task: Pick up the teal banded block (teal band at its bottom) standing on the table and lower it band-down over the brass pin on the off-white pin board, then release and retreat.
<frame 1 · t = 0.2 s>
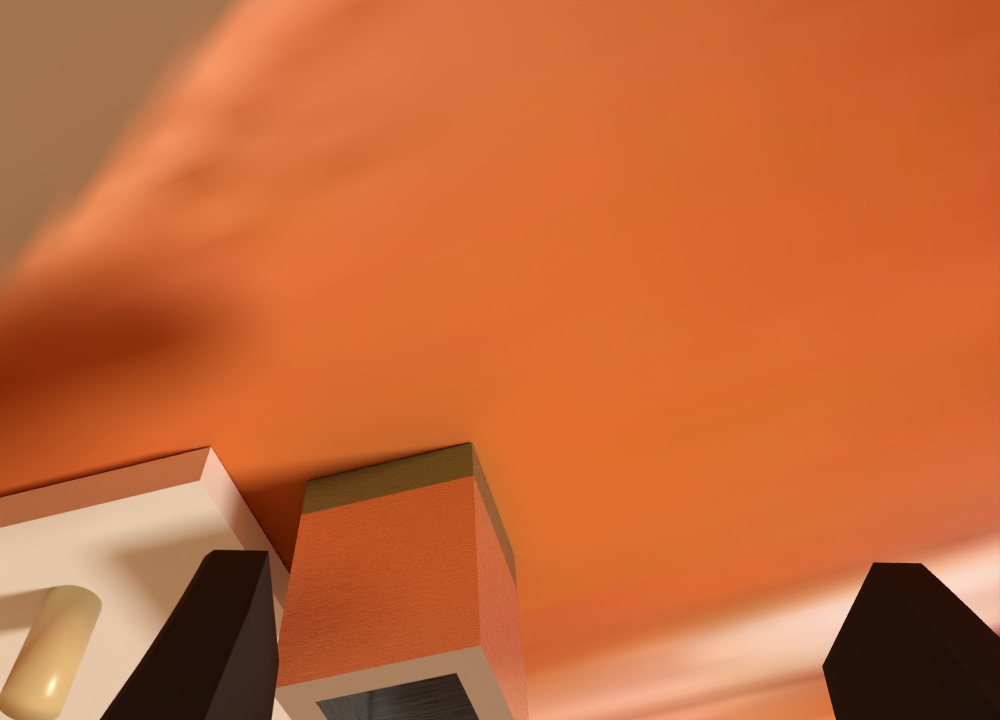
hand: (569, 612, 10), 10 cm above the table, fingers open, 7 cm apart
teal banded block: (415, 520, 23), on the table
pin board: (159, 652, 26), on the table
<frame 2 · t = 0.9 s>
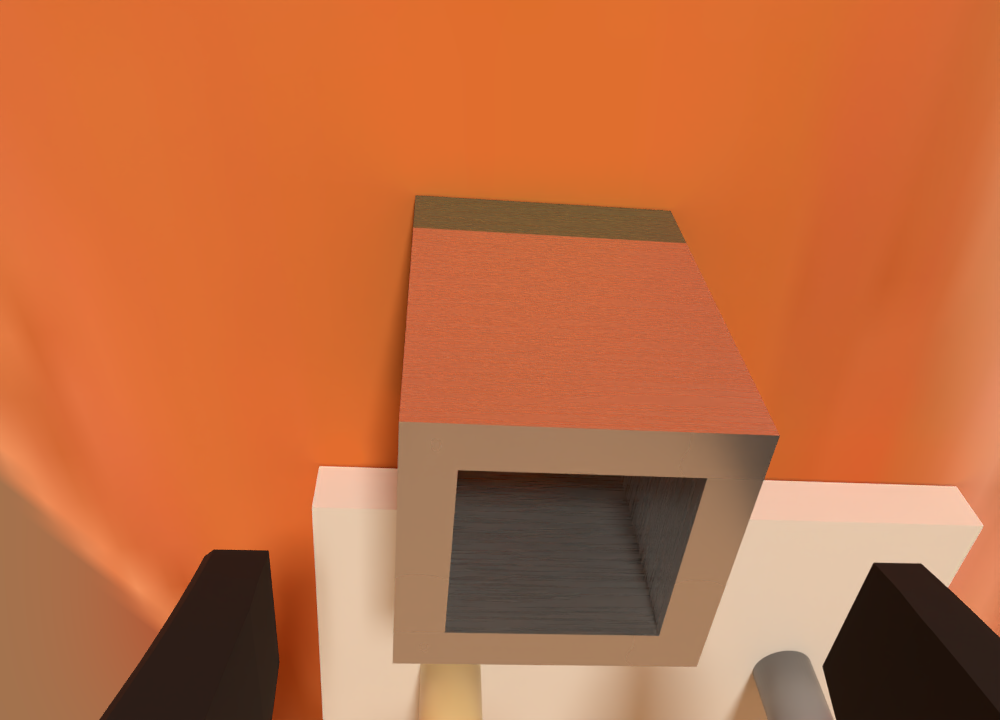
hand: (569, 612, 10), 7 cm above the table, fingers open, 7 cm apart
teal banded block: (530, 312, 16), on the table
pin board: (611, 624, 21), on the table
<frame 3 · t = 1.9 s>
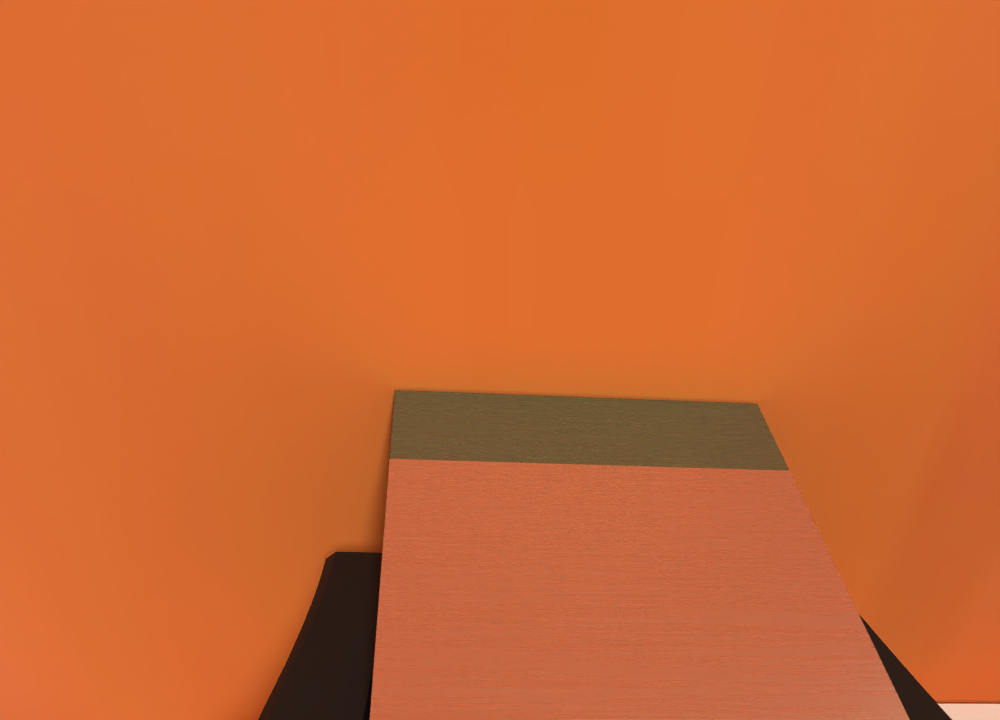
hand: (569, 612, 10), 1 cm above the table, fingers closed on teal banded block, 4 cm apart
teal banded block: (556, 526, 12), on the table, touching gripper
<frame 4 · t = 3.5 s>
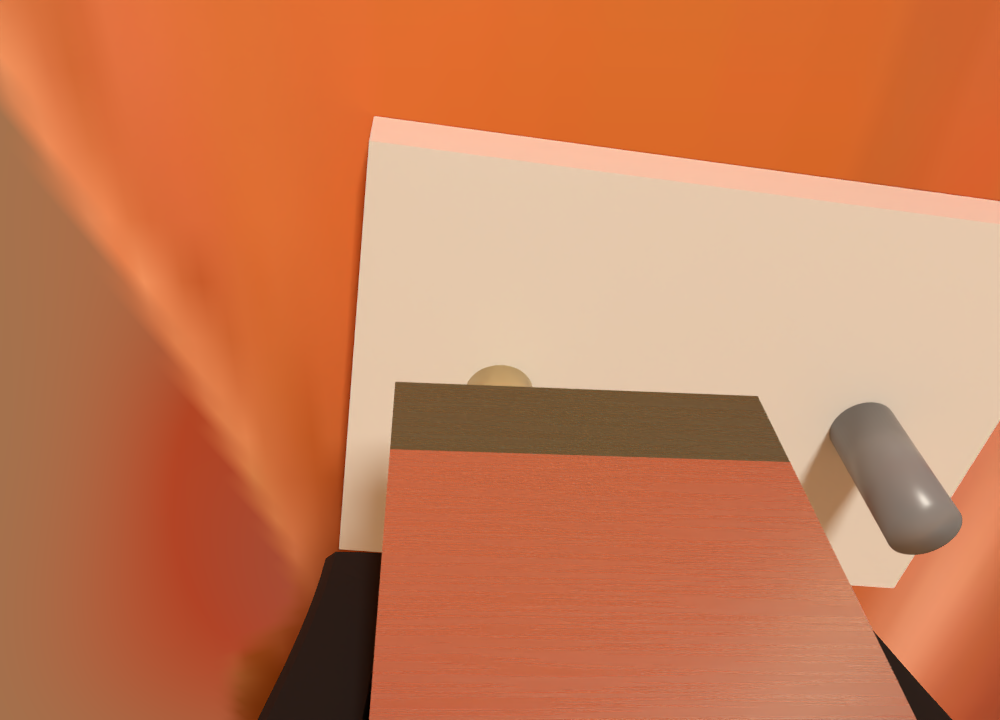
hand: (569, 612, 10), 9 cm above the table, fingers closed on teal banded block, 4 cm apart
teal banded block: (556, 519, 12), point 7 cm above the table, touching gripper
pin board: (673, 376, 19), on the table
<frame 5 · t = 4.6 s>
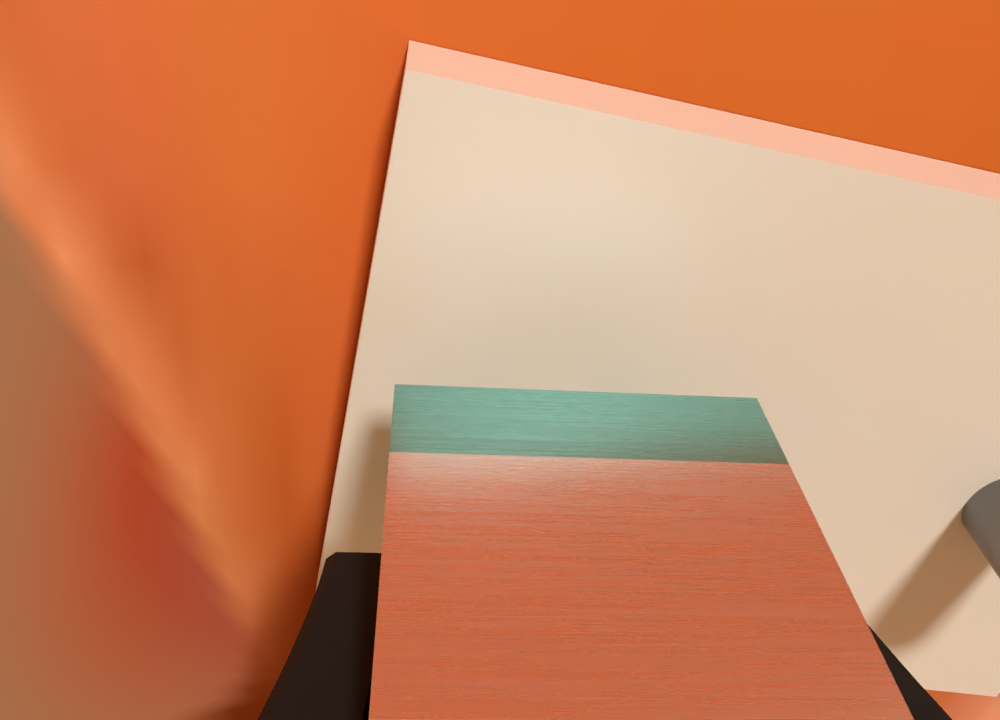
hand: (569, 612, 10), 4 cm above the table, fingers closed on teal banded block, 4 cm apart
teal banded block: (556, 521, 12), point 3 cm above the table, touching gripper
pin board: (763, 426, 15), on the table
when the fingers open (3 cm above the table, at t = 5.4 s): teal banded block stays where it is, resting on pin board.
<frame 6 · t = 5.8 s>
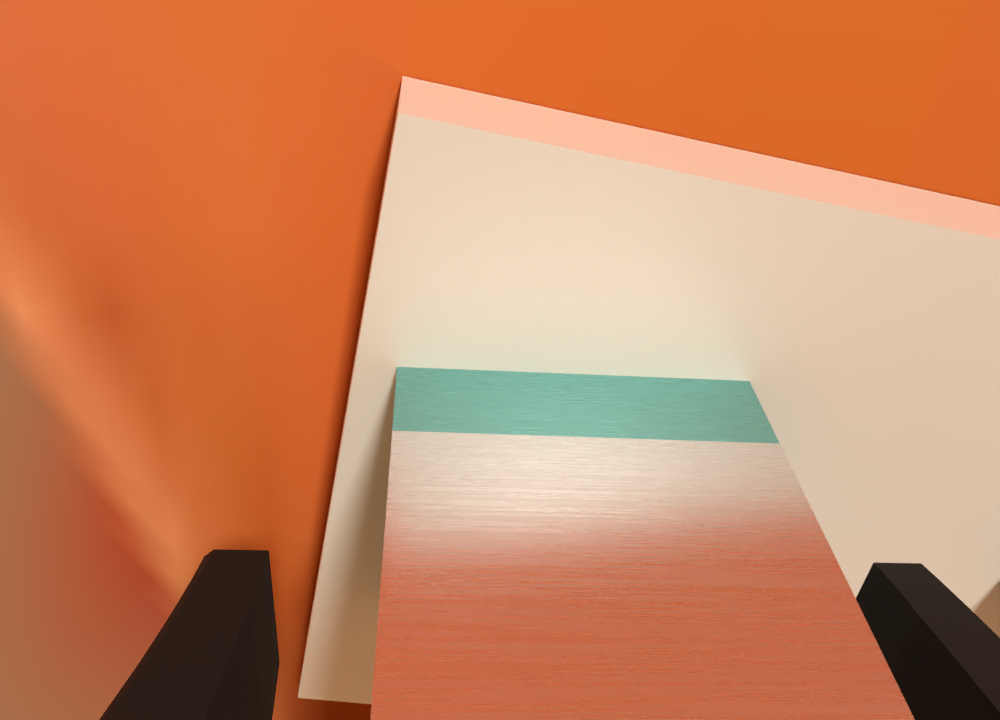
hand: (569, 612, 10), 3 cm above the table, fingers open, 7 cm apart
teal banded block: (554, 502, 12), point 1 cm above the table, touching pin board
pin board: (789, 483, 14), on the table
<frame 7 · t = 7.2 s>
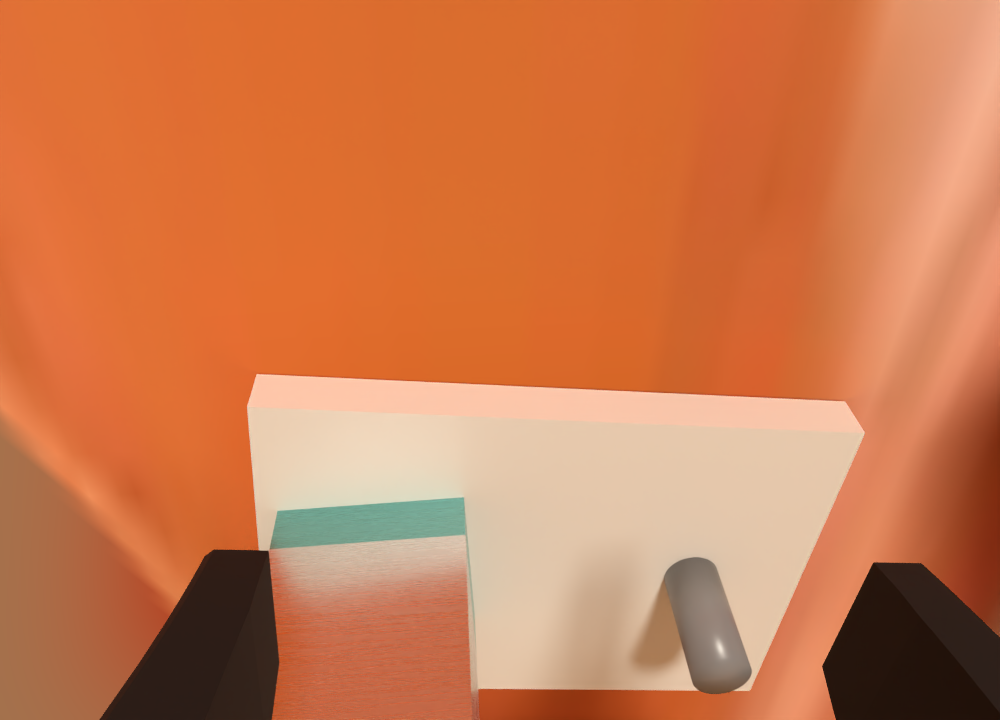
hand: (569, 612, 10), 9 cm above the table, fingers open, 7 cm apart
teal banded block: (382, 567, 22), point 1 cm above the table, touching pin board
pin board: (535, 537, 23), on the table
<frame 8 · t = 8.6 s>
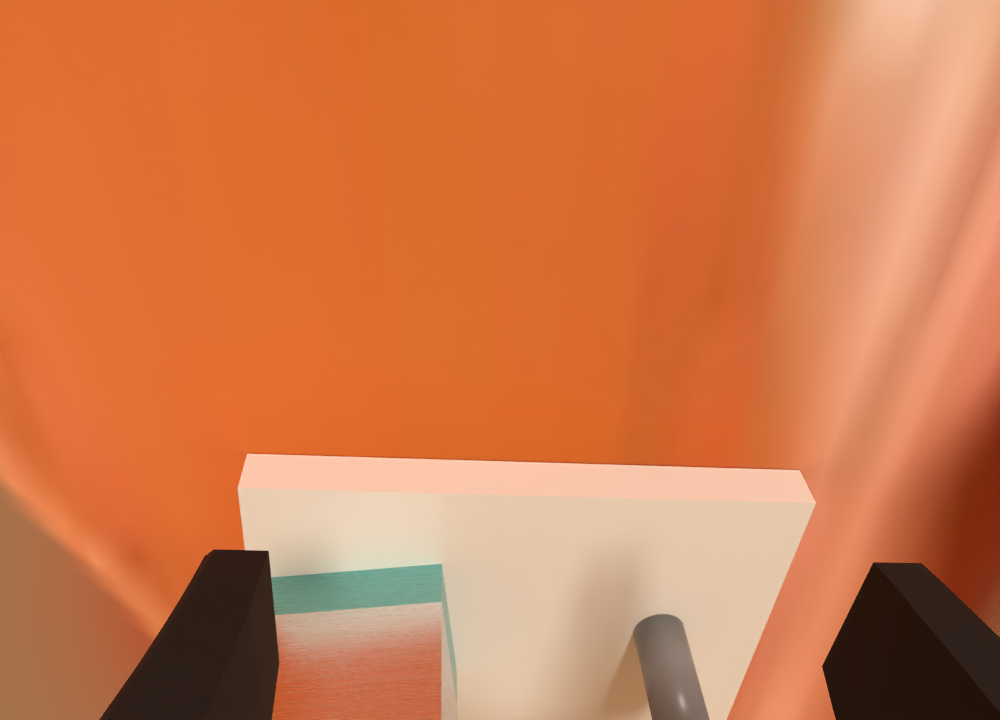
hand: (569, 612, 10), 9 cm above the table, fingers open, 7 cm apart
teal banded block: (367, 625, 23), point 1 cm above the table, touching pin board
pin board: (512, 593, 24), on the table
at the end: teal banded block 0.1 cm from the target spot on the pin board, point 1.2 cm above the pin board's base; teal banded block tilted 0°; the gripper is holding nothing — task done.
